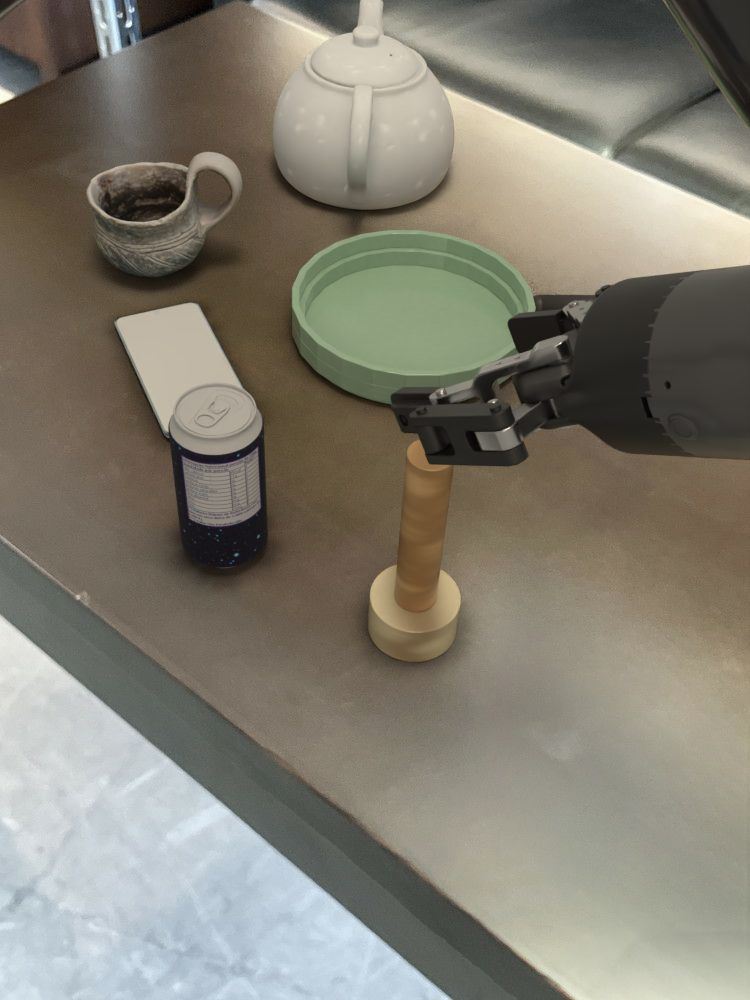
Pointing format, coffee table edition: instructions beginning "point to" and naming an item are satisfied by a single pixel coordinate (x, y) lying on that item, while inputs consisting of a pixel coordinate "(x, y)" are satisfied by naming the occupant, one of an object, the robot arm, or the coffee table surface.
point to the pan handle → (558, 301)
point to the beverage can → (219, 474)
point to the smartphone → (173, 354)
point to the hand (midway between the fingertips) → (460, 371)
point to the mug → (157, 213)
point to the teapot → (363, 121)
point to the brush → (417, 570)
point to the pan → (405, 311)
